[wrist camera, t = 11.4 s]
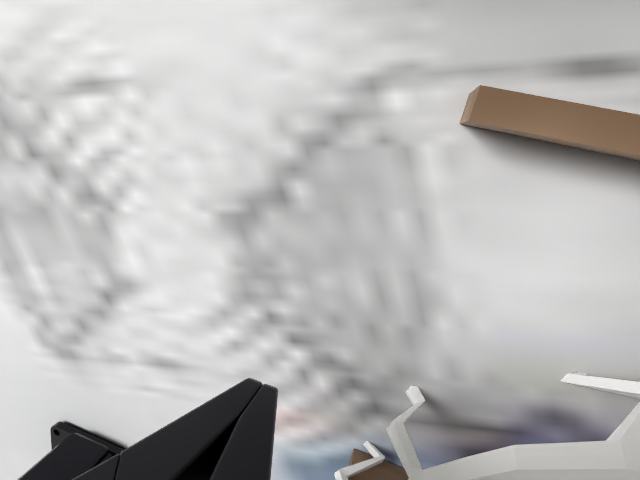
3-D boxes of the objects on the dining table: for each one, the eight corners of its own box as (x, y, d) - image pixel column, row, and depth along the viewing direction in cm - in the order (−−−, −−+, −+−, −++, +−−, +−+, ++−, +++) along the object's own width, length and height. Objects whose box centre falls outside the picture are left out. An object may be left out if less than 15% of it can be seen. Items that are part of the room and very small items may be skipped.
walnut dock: (675, 592, 15) (712, 655, 13) (349, 462, 18) (342, 500, 16) (1033, 201, 9) (1187, 217, 7) (469, 93, 12) (480, 85, 10)
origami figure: (470, 536, 17) (492, 679, 13) (334, 436, 18) (307, 540, 13) (686, 388, 13) (837, 526, 8) (498, 261, 13) (545, 325, 9)
